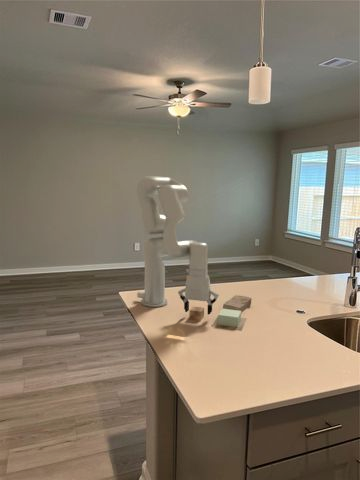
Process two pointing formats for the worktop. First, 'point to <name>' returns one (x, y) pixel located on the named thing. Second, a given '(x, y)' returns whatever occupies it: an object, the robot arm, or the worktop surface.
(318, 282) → the worktop surface
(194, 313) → the cherry block
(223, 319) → the base block
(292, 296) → the worktop surface
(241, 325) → the baseplate
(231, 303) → the brick
